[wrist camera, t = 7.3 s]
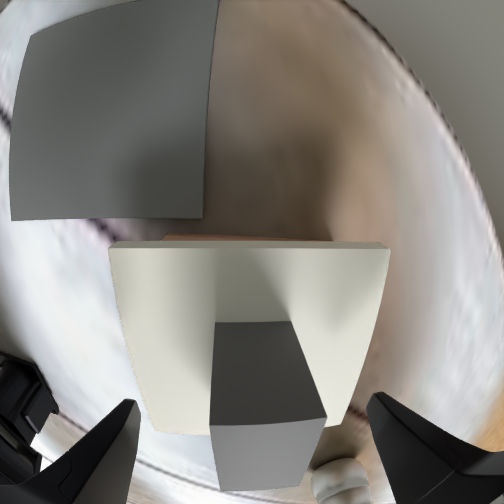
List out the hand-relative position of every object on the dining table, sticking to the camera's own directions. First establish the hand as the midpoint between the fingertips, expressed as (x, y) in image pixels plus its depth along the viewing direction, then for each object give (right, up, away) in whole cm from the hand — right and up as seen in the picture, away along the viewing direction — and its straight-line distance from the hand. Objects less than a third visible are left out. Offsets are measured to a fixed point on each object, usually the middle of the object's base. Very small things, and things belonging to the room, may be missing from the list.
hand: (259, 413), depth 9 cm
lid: (0, +1, +4) cm, 4 cm away
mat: (-9, +14, +3) cm, 17 cm away
